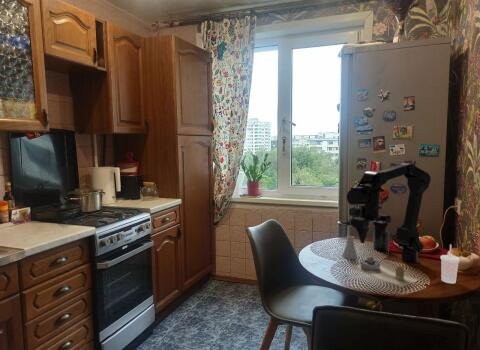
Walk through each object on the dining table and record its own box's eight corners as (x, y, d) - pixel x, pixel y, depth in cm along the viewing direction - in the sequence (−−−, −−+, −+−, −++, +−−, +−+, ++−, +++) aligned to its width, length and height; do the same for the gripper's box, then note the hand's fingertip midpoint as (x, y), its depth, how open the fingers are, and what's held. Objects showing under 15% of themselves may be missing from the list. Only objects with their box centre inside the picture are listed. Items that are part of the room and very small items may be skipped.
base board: (369, 263, 143) (370, 250, 142) (420, 282, 124) (421, 266, 124) (350, 269, 137) (351, 255, 136) (401, 289, 118) (401, 273, 118)
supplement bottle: (389, 249, 162) (390, 224, 161) (387, 253, 156) (388, 228, 155) (374, 246, 166) (375, 223, 165) (371, 250, 160) (372, 226, 159)
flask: (359, 262, 145) (360, 239, 144) (342, 260, 147) (342, 238, 146) (357, 256, 152) (357, 235, 151) (340, 255, 154) (341, 234, 153)
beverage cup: (451, 285, 121) (453, 248, 120) (435, 279, 127) (437, 243, 126) (462, 282, 124) (464, 245, 122) (446, 276, 129) (448, 241, 128)
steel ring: (368, 263, 141) (368, 257, 140) (382, 268, 135) (383, 262, 135) (357, 266, 137) (357, 260, 137) (371, 272, 131) (371, 266, 131)
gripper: (369, 198, 145) (367, 233, 147) (339, 202, 135) (338, 239, 137) (392, 202, 136) (390, 239, 137) (363, 206, 126) (361, 247, 127)
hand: (369, 241), depth 135 cm, fingers open, 9 cm apart
